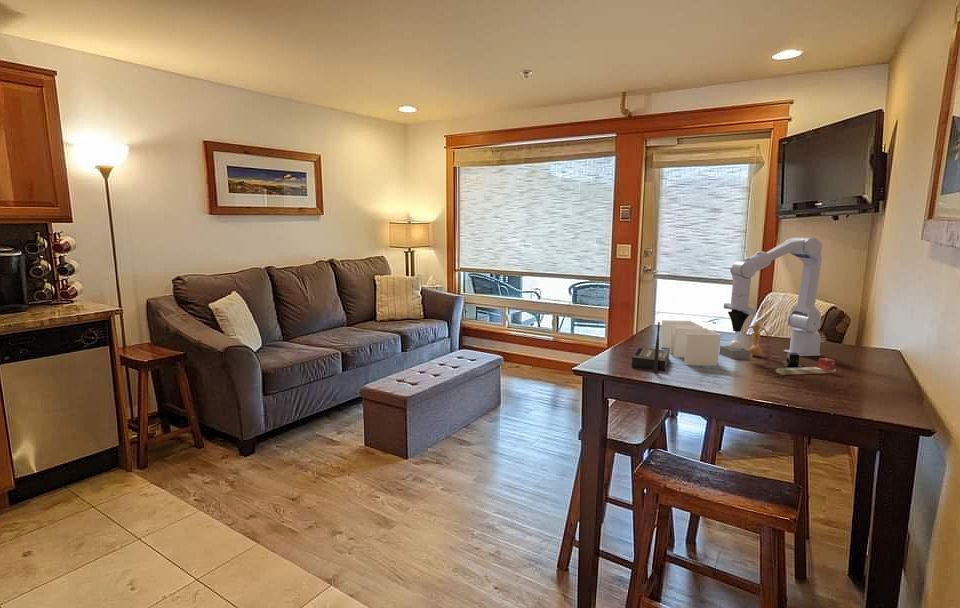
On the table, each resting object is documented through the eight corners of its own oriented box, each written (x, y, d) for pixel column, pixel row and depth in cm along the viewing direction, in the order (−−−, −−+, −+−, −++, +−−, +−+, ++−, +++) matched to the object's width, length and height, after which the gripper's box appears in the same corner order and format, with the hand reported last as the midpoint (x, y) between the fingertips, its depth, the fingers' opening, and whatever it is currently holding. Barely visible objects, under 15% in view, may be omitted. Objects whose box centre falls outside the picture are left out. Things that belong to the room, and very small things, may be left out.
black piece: (807, 372, 169) (809, 358, 168) (782, 369, 171) (784, 356, 171) (799, 363, 180) (801, 350, 179) (776, 360, 183) (777, 348, 182)
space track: (827, 370, 170) (829, 357, 169) (836, 373, 166) (838, 359, 166) (775, 372, 166) (777, 358, 165) (783, 375, 163) (785, 361, 162)
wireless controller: (633, 356, 184) (636, 310, 181) (674, 361, 178) (677, 314, 175) (624, 370, 166) (627, 319, 163) (669, 376, 160) (673, 323, 158)
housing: (736, 353, 191) (737, 345, 190) (749, 358, 184) (750, 350, 183) (719, 353, 189) (720, 345, 189) (732, 358, 182) (732, 350, 182)
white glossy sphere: (736, 350, 189) (737, 338, 188) (744, 354, 184) (745, 341, 184) (725, 351, 188) (726, 339, 187) (733, 354, 184) (734, 342, 183)
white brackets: (717, 366, 173) (720, 334, 171) (685, 365, 173) (688, 334, 171) (688, 348, 197) (690, 320, 196) (659, 347, 197) (662, 320, 196)
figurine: (743, 356, 186) (747, 324, 184) (740, 352, 192) (743, 321, 190) (769, 358, 184) (772, 325, 182) (764, 354, 190) (768, 322, 188)
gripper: (717, 291, 189) (714, 327, 191) (744, 297, 175) (740, 335, 177) (734, 291, 190) (731, 327, 193) (762, 297, 176) (758, 335, 178)
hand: (736, 331), depth 185 cm, fingers closed
